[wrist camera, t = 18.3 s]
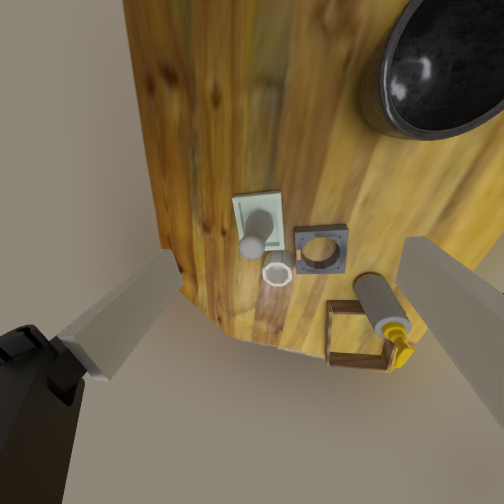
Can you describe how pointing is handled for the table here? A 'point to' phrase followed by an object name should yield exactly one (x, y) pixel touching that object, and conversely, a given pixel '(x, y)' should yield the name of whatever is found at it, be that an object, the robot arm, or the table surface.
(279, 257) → the octagonal gray cup
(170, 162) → the table surface
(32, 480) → the robot arm
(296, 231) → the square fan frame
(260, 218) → the salt shaker
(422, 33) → the planter
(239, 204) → the mint green tray
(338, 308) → the book tray
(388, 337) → the soap bottle
